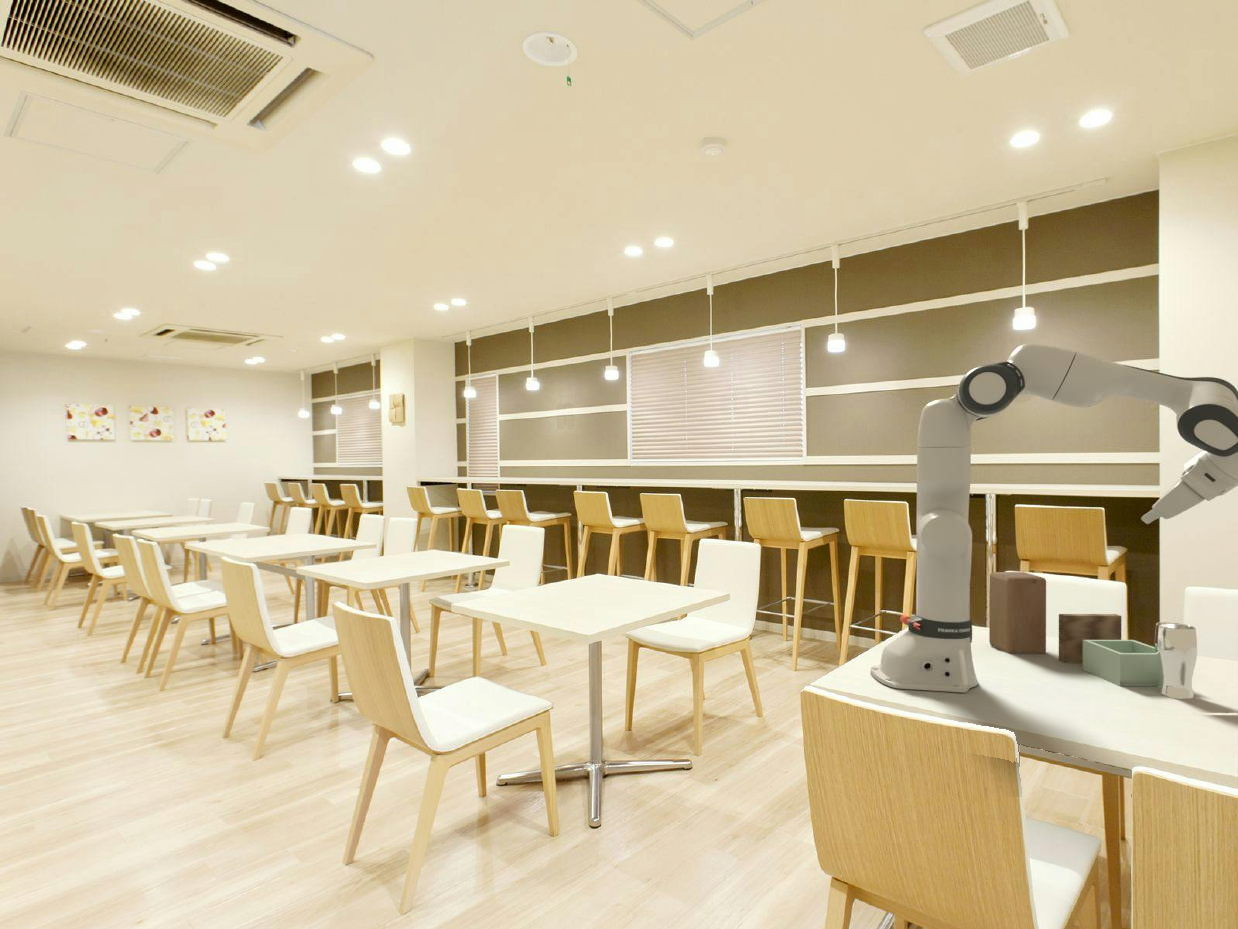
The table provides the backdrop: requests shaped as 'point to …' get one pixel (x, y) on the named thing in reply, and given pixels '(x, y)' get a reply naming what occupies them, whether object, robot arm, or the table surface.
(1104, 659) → the sage green storage bin
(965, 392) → the robot arm
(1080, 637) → the box
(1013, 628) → the wooden block
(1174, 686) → the beer glass
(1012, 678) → the table surface
